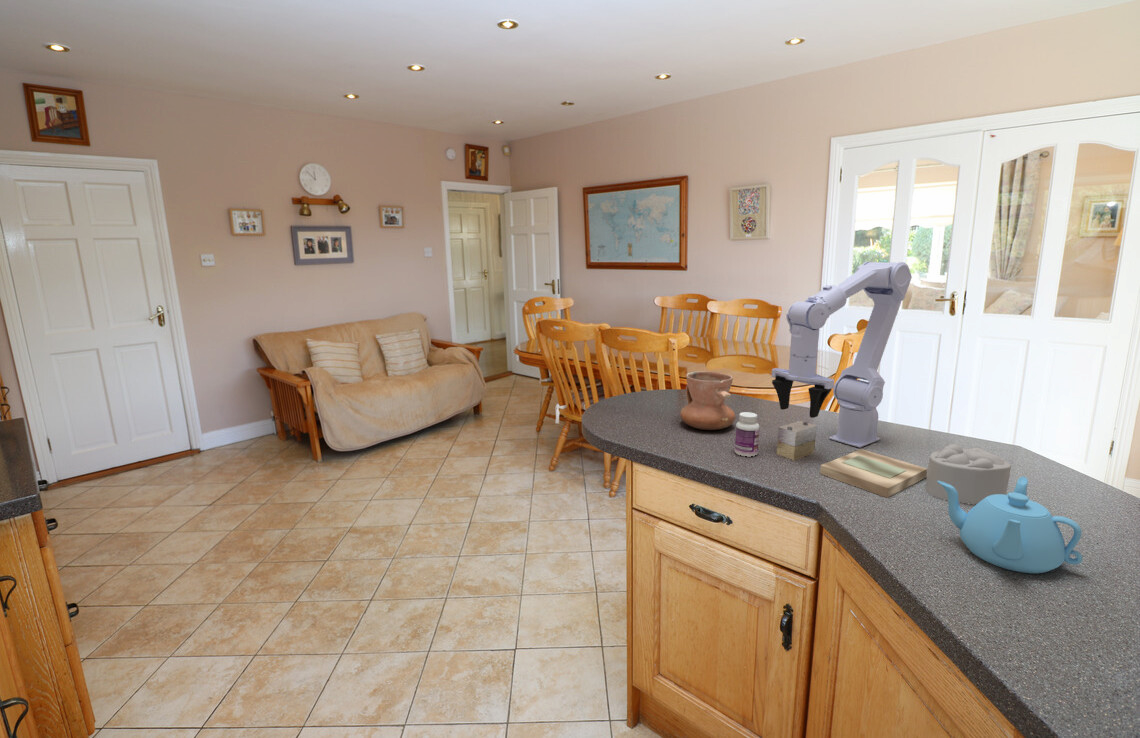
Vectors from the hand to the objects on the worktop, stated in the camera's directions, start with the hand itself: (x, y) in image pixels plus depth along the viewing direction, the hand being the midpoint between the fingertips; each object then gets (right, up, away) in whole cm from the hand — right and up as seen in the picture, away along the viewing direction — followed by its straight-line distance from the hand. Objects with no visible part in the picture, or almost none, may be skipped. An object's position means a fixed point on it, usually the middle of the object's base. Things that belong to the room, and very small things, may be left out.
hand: (798, 412), depth 127 cm
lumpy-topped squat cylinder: (+24, -15, -19) cm, 34 cm away
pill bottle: (-11, -10, +3) cm, 15 cm away
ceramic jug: (-16, -5, +24) cm, 29 cm away
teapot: (+15, -19, -39) cm, 47 cm away
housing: (0, -10, +2) cm, 10 cm away
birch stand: (+11, -13, -10) cm, 20 cm away
